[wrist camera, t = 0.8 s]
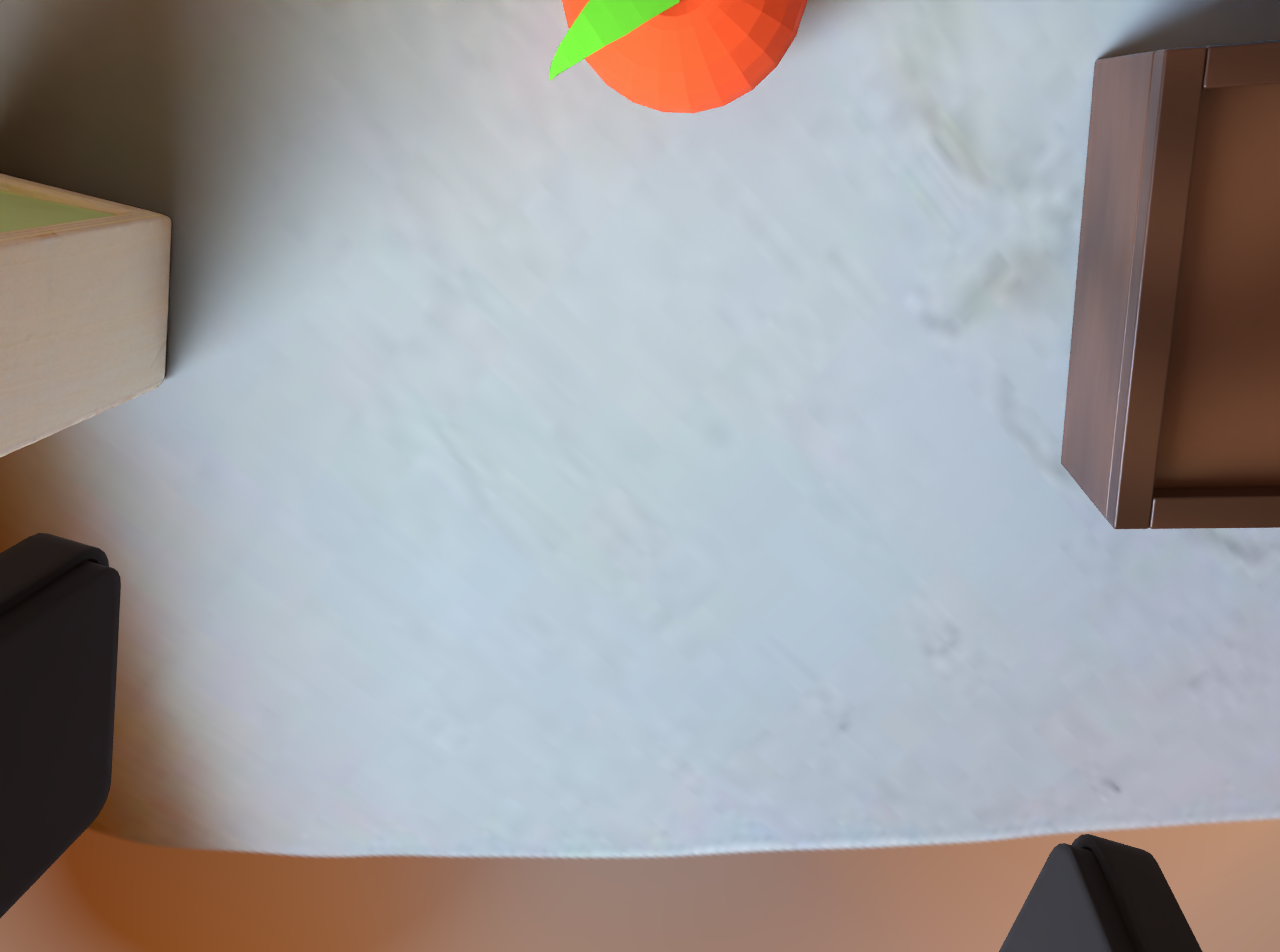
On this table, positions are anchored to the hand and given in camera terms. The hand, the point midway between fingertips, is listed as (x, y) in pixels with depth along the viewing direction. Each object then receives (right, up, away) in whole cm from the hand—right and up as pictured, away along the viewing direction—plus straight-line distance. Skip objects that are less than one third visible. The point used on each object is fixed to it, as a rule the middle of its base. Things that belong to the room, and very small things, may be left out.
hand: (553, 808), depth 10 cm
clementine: (+2, +18, +21) cm, 28 cm away
